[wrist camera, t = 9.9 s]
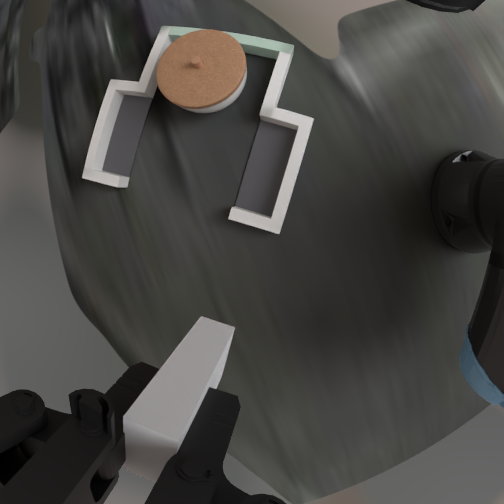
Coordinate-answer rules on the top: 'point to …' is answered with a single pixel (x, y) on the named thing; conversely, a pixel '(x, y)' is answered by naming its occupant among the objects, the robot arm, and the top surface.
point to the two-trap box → (264, 147)
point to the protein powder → (449, 4)
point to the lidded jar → (202, 71)
